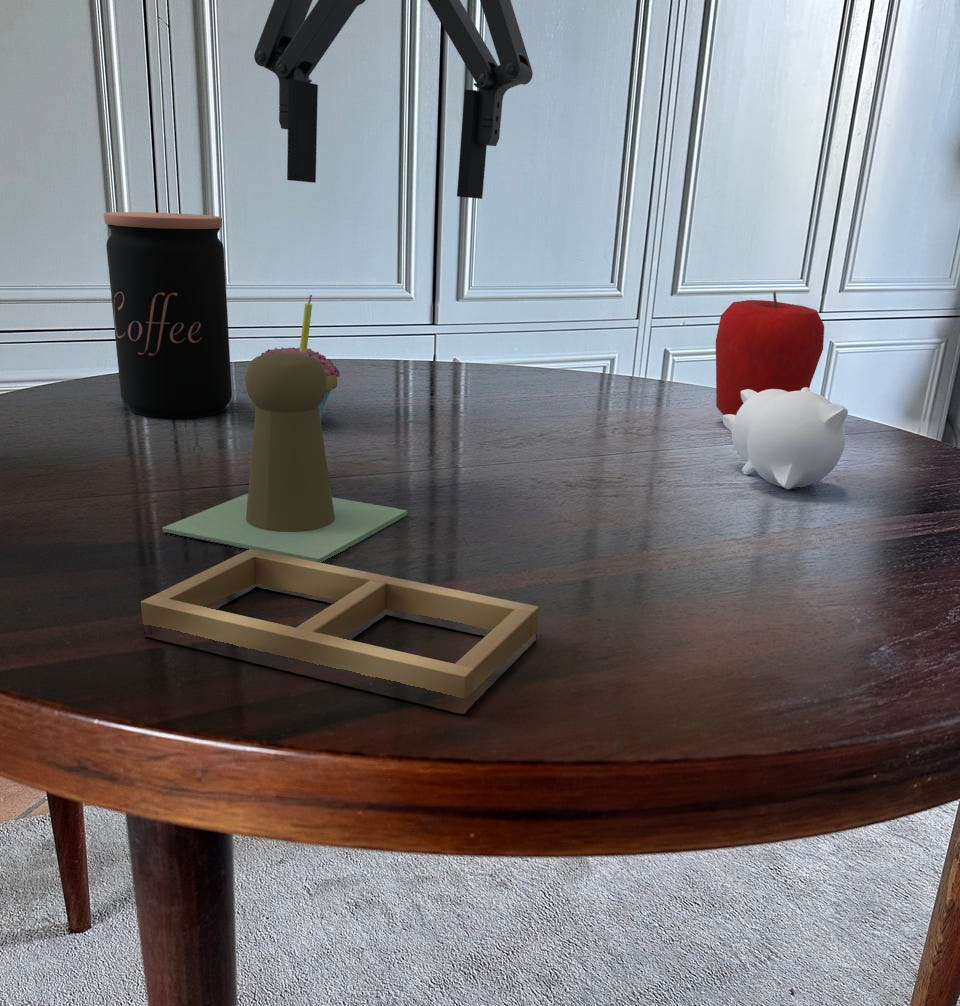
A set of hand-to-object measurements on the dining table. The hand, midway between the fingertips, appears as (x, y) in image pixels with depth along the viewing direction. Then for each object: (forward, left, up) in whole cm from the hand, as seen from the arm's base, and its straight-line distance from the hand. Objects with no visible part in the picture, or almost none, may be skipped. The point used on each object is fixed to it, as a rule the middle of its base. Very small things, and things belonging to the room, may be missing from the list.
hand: (383, 190), depth 73 cm
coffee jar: (-30, +12, -22) cm, 39 cm away
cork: (0, -13, -21) cm, 25 cm away
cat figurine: (+29, +19, -22) cm, 41 cm away
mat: (0, -14, -21) cm, 25 cm away
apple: (+23, +39, -22) cm, 51 cm away
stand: (+13, -29, -21) cm, 38 cm away
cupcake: (-17, +13, -22) cm, 31 cm away
